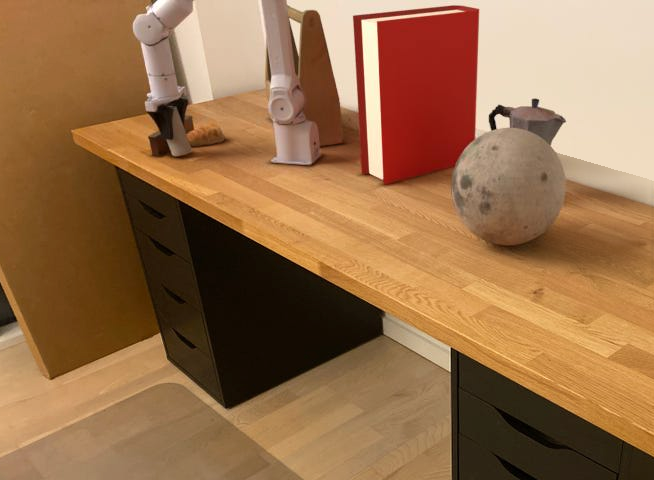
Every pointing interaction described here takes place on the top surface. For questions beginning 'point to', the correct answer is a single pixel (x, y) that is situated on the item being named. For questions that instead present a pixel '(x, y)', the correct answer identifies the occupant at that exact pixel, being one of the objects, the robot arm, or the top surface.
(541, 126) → the moka pot
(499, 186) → the moon model
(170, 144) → the planter
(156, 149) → the wall shelf
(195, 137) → the pastry
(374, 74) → the book
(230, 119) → the top surface
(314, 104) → the caddy
